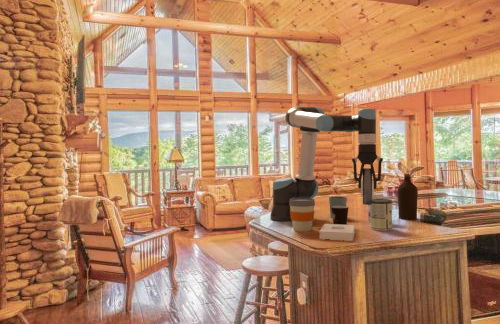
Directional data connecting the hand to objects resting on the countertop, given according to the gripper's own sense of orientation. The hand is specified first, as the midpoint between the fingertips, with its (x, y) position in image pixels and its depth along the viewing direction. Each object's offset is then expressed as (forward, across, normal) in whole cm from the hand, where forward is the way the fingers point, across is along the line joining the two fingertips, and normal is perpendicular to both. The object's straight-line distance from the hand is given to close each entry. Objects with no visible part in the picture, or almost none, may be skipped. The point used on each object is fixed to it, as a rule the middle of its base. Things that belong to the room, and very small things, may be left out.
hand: (367, 196), depth 168 cm
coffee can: (+18, +6, +19) cm, 27 cm away
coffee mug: (+19, -14, +22) cm, 32 cm away
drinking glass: (+19, -16, +47) cm, 53 cm away
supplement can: (+19, +5, +38) cm, 42 cm away
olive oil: (+19, +22, +53) cm, 60 cm away
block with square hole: (+18, -13, -2) cm, 22 cm away
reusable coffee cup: (+19, -31, +8) cm, 37 cm away
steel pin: (+4, 0, 0) cm, 4 cm away
